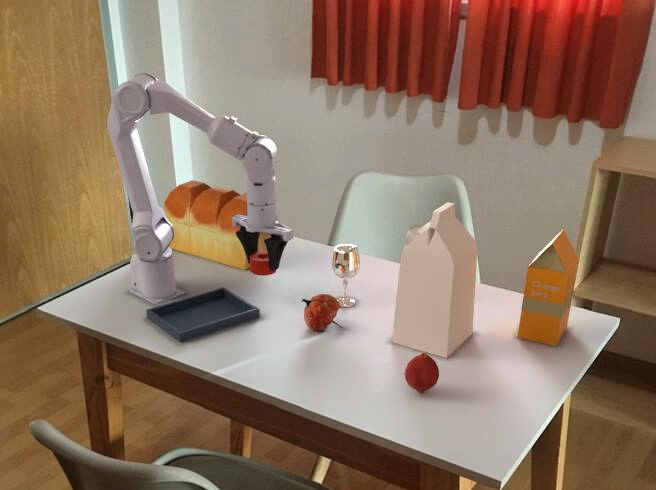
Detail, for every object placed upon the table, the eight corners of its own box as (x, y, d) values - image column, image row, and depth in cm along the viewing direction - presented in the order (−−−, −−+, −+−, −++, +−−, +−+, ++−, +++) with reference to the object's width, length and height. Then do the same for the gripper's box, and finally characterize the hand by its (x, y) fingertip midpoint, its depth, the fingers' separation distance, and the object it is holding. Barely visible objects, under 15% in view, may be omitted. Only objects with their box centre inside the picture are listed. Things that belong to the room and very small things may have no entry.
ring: (245, 271, 170) (244, 256, 168) (262, 263, 173) (261, 249, 172) (264, 277, 167) (264, 263, 165) (281, 269, 171) (281, 255, 169)
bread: (278, 254, 196) (277, 193, 189) (245, 270, 188) (243, 207, 180) (200, 232, 209) (196, 174, 201) (165, 247, 200) (160, 187, 192)
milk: (446, 357, 153) (460, 222, 139) (391, 342, 158) (399, 210, 144) (472, 333, 161) (487, 203, 148) (419, 319, 167) (429, 193, 153)
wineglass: (327, 305, 172) (327, 251, 166) (336, 295, 176) (337, 241, 170) (353, 310, 170) (354, 255, 164) (362, 299, 175) (364, 245, 168)
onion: (400, 384, 144) (403, 343, 140) (433, 383, 145) (437, 342, 141) (406, 401, 139) (410, 360, 135) (440, 400, 140) (444, 359, 136)
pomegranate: (335, 329, 168) (296, 300, 165) (357, 306, 163) (317, 276, 161) (328, 349, 162) (288, 319, 159) (351, 326, 157) (310, 295, 155)
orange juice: (567, 327, 164) (585, 231, 153) (556, 346, 157) (574, 246, 146) (528, 319, 167) (543, 224, 156) (516, 337, 160) (530, 239, 150)
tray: (146, 319, 166) (145, 309, 165) (224, 296, 176) (223, 287, 174) (180, 344, 157) (179, 333, 156) (259, 318, 167) (259, 308, 165)
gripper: (220, 199, 164) (224, 263, 171) (276, 214, 156) (277, 280, 163) (244, 190, 168) (246, 253, 175) (299, 205, 161) (300, 269, 168)
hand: (263, 266), depth 170 cm, fingers closed on ring, 5 cm apart
